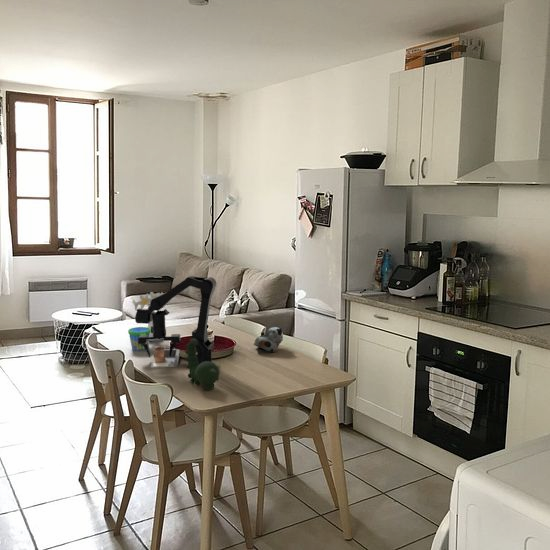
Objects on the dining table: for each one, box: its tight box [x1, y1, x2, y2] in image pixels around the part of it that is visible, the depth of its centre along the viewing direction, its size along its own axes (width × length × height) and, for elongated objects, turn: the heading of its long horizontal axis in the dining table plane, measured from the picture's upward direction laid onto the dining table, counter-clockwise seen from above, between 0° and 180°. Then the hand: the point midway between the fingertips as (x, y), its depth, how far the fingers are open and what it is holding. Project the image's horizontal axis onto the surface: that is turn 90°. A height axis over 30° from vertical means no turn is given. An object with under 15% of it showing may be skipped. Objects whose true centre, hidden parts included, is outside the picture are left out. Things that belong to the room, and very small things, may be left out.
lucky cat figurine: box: [253, 326, 284, 354], centre depth 302 cm, size 15×12×14 cm
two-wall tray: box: [149, 348, 180, 369], centre depth 283 cm, size 12×18×3 cm, turn 6°
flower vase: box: [131, 291, 169, 337], centre depth 319 cm, size 13×18×25 cm
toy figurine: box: [184, 338, 220, 390], centre depth 251 cm, size 9×19×25 cm
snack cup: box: [127, 326, 151, 352], centre depth 303 cm, size 16×10×10 cm
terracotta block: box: [154, 345, 166, 363], centre depth 284 cm, size 4×6×6 cm, turn 6°
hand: (159, 357), depth 284 cm, fingers open, 9 cm apart
